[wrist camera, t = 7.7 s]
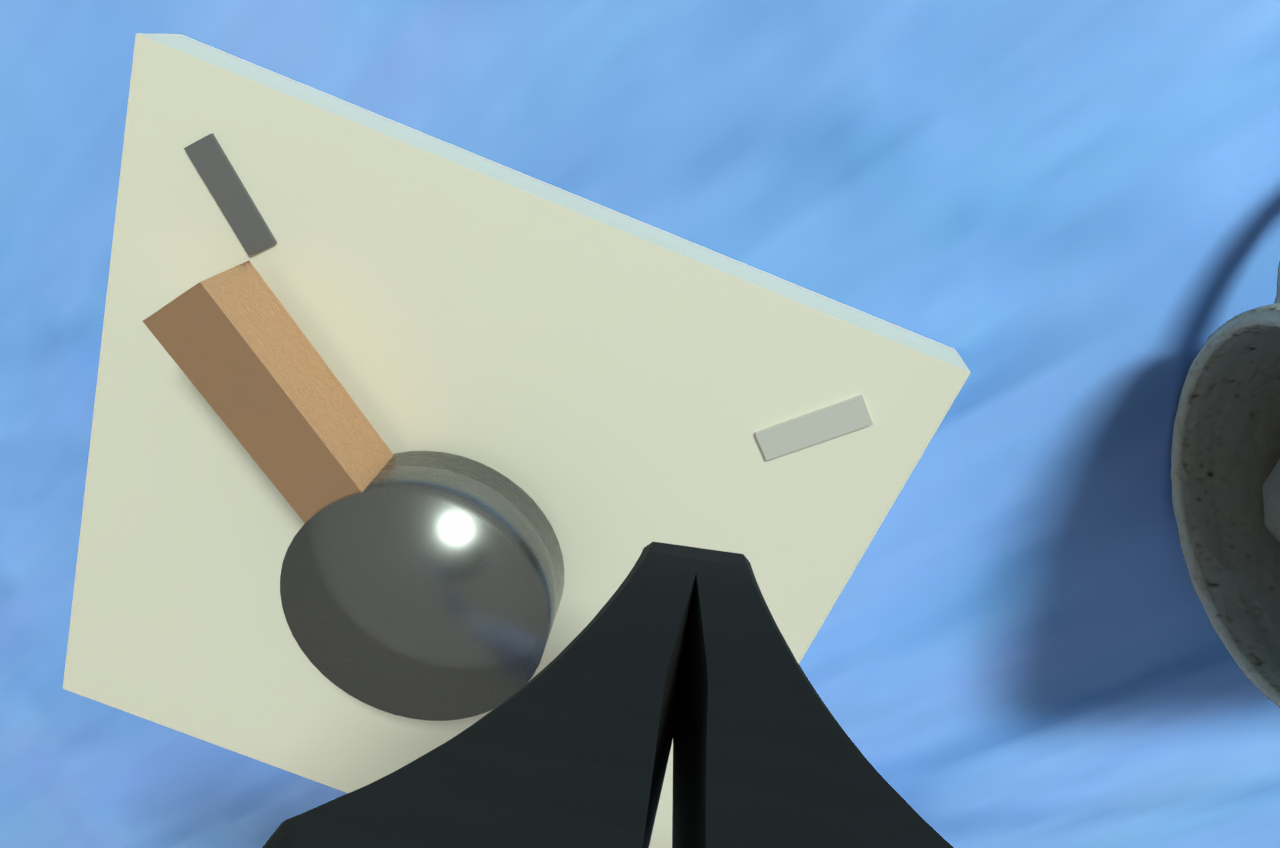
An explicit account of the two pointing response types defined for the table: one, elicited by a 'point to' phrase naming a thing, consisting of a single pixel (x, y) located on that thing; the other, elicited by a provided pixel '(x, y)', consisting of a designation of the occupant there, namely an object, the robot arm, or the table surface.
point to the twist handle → (373, 520)
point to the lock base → (449, 400)
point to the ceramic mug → (1234, 488)
